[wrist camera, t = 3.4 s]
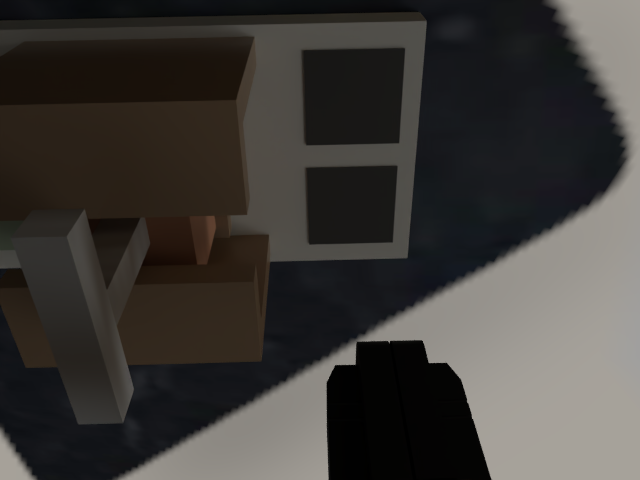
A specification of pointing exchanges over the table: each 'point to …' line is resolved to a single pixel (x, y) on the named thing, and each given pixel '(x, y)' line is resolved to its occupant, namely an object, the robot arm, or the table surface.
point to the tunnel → (210, 156)
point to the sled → (100, 291)
